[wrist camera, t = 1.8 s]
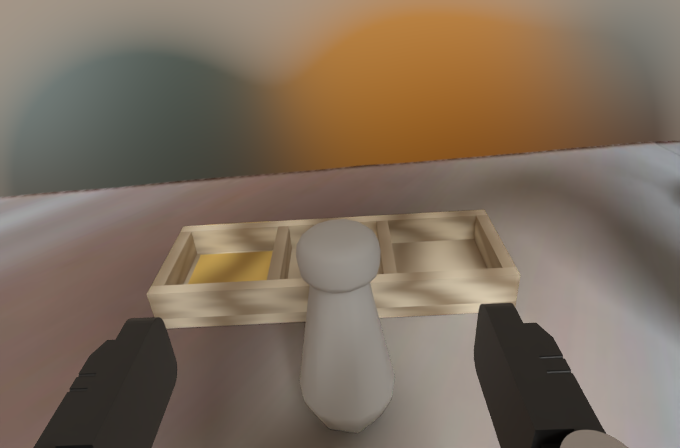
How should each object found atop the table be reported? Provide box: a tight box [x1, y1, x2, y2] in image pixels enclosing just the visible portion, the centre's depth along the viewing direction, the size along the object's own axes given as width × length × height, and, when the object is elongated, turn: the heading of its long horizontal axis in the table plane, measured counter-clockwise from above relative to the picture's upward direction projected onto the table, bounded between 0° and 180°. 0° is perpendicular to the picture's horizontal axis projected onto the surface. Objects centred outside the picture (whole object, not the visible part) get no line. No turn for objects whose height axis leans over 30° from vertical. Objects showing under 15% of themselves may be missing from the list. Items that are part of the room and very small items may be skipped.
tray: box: [147, 210, 520, 329], centre depth 41 cm, size 28×10×4 cm, turn 90°
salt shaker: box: [296, 219, 395, 433], centre depth 27 cm, size 6×6×13 cm
